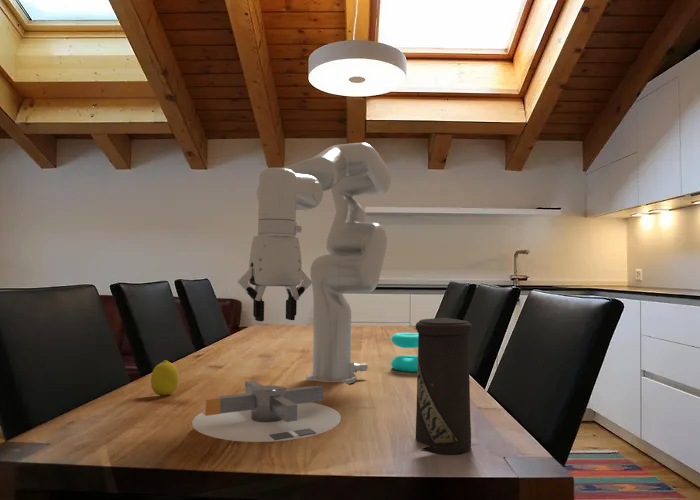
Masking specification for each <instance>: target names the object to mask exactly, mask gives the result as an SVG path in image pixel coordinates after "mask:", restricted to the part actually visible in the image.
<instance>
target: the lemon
mask: <svg viewBox="0 0 700 500" xmlns="http://www.w3.org/2000/svg"><path fill="white" fill-rule="evenodd" d="M178 371H179V370H178V368H177V367H176V365H175V364H174V363H171V362H170V361H169V360H166V359H165V360H163V361H162V362H160V363H158V364H157V365H155V367H154V368H153V370H152V372H151V377H150V386H151V389H152V391H153V392H154V393H155V394H156V395H158V396H161V397H162V396H169V395H172V393H174V392H176V389H177V388H178V385H179V381H180V380H179V379H180V376H179V372H178Z"/></svg>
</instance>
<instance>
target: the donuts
mask: <svg viewBox="0 0 700 500" xmlns="http://www.w3.org/2000/svg"><path fill="white" fill-rule="evenodd" d="M391 342H392V344H394V346H397V347H399V348H404V349H416V348H417V349H418V332H396V333H394V334H393V335H392V336H391ZM390 364H391V368H393V369H394V370H396V371H399V372H405V373H406V372H407V373H413V372H414V373H415V372H416V373H417V372H418V355H408V354H406V355H404V354H403V355H398V356H395V357H394V358H393V359H392V361H391V363H390Z"/></svg>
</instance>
